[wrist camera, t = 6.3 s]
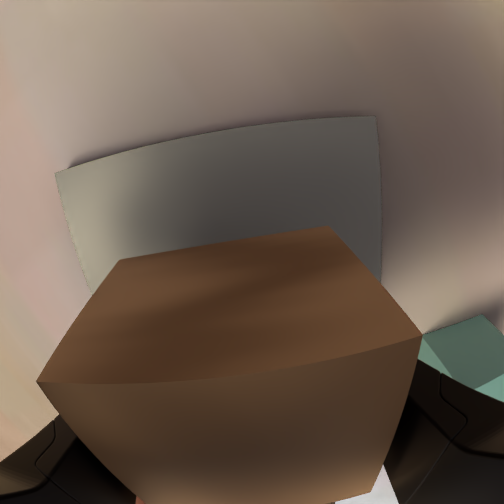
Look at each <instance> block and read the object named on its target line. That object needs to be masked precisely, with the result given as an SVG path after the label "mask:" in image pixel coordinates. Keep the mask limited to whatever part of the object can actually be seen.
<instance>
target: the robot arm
mask: <svg viewBox="0 0 504 504" xmlns="http://www.w3.org/2000/svg"><path fill="white" fill-rule="evenodd" d="M383 465H384V467H385V470H386V472H387V475H388V477H389V480H390V482H391V485H392V487H393V490H394V492H395V495H396V497H397V500H398V503H399V504H504V402H502V401H500V400H497V399H495V398H493V397H490V396H488V395H486V394H483V393H481V392H479V391H477V390H474V389H472V388H470V387H468V386H466V385H464V384H462V383H460V382H458V381H456V380H455V379H453V378H451V377H449V376H447V375H446V374H444V373H441V374H440V371H438V370H437V369H435V368H433V367H432V366H430V365H428V364H426V363H425V362H423V361H421V360H419V359H417V363H416V367H415V371H414V375H413V378H412V382H411V385H410V389H409V392H408V396H407V399H406V402H405V405H404V409H403V412H402V415H401V418H400V421H399V424H398V426H397V429H396V432H395V435H394V438H393V440H392V443H391V445H390V448H389V451H388V453H387V456H386V458H385V461H384V463H383ZM0 504H136V495H135V494H134V493H133V492H132V491H131V490H130V489H128V488H127V487H126V486H125V485H124V484H123V483H122V482H121V481H120V480H119V479H118V478H117V477H116V476H115V475H113V474H112V473H111V472H110V471H109V470H108V469H107V468H106V467H105V466H104V465H103V464H102V463H101V461H100V460H99V459H98V458H97V457H96V456H95V455H94V454H93V453H92V452H91V451H90V450H89V449H88V448H87V446H86V445H85V444H84V443H83V442H82V441H81V440H80V438H79V437H78V436H77V435H76V434H75V433H74V431H73V430H72V429H71V428H70V427H69V425H68V424H67V423H66V422H65V420H64V419H63V418H62V417H61V415H60V414H59V415H58V416H57V417H56V418H55V419H54V420H52V421H51V422H50V423H49V424H48V425H47V426H46V427H45V428H43V429H42V430H41V431H40V432H39V433H38V434H36V435H35V436H34V437H33V438H32V439H30V440H29V441H28V442H26V443H25V444H24V445H23V446H21V447H20V448H19V449H17V450H16V451H15V452H13V453H12V454H10V455H9V456H8V457H6V458H5V459H4V460H2V461H1V462H0Z"/></svg>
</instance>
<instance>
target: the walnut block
mask: <svg viewBox="0 0 504 504" xmlns="http://www.w3.org/2000/svg"><path fill="white" fill-rule="evenodd" d="M422 337H423V334H422V333H421V332H420V331H419V329H418V328H417V327H416V326H415V324H414V323H413V322H412V321H411V319H410V318H409V317H408V316H407V314H406V313H405V312H404V311H403V310H402V308H401V307H400V306H399V305H398V304H397V302H396V301H395V300H394V299H393V298H392V296H391V295H390V294H389V293H388V292H387V290H386V289H385V288H384V287H383V286H382V285H381V283H380V282H379V281H378V280H377V279H376V278H375V276H374V275H373V274H372V273H371V272H370V271H369V270H368V268H367V267H366V266H365V265H364V264H363V263H362V262H361V261H360V259H359V258H358V257H357V256H356V255H355V254H354V253H353V252H352V250H351V249H350V248H349V247H348V246H347V245H346V244H345V243H344V242H343V241H342V239H341V238H340V237H339V236H338V235H337V234H336V233H335V232H334V231H333V230H332V229H331V228H330V227H329V226H322V227H315V228H309V229H302V230H296V231H289V232H283V233H276V234H270V235H264V236H257V237H251V238H245V239H239V240H232V241H226V242H220V243H214V244H208V245H202V246H196V247H190V248H184V249H178V250H172V251H166V252H160V253H154V254H148V255H143V256H137V257H131V258H125V259H120V260H119V261H118V262H117V263H116V264H115V266H114V267H113V268H112V270H111V271H110V272H109V274H108V275H107V276H106V278H105V279H104V280H103V282H102V283H101V284H100V286H99V287H98V288H97V290H96V291H95V293H94V294H93V295H92V297H91V298H90V299H89V301H88V302H87V304H86V305H85V307H84V308H83V309H82V311H81V312H80V314H79V315H78V317H77V318H76V319H75V321H74V322H73V324H72V325H71V327H70V328H69V330H68V331H67V333H66V334H65V336H64V337H63V339H62V340H61V342H60V343H59V345H58V347H57V348H56V350H55V351H54V353H53V354H52V356H51V358H50V359H49V361H48V362H47V364H46V366H45V367H44V369H43V371H42V372H41V374H40V376H39V377H38V379H37V381H36V382H37V384H38V385H39V387H40V388H41V389H42V391H43V392H44V394H45V395H46V397H47V398H48V399H49V401H50V402H51V403H52V405H53V406H54V407H55V409H56V410H57V411H58V413H59V414H60V415H61V417H62V418H63V419H64V420H65V422H66V423H67V424H68V425H69V427H70V428H71V429H72V430H73V431H74V433H75V434H76V435H77V436H78V437H79V438H80V440H81V441H82V442H83V443H84V444H85V445H86V446H87V448H88V449H89V450H90V451H91V452H92V453H93V454H94V455H95V456H96V457H97V458H98V459H99V460H100V461H101V463H102V464H103V465H104V466H105V467H106V468H107V469H108V470H109V471H110V472H111V473H112V474H113V475H115V476H116V477H117V478H118V479H119V480H120V481H121V482H122V483H123V484H124V485H125V486H126V487H127V488H128V489H130V490H131V491H132V492H133V493H134V494H135V495H136V496H137V497H139V498H140V499H141V500H142V501H143V502H145V503H146V504H327V503H331V502H336V501H340V500H344V499H348V498H351V497H355V496H359V495H362V494H365V493H369V492H371V490H372V488H373V486H374V483H375V481H376V479H377V477H378V475H379V472H380V470H381V468H382V465H383V463H384V461H385V458H386V456H387V453H388V451H389V448H390V445H391V443H392V440H393V438H394V435H395V432H396V429H397V426H398V424H399V421H400V418H401V415H402V412H403V409H404V405H405V402H406V399H407V396H408V392H409V389H410V385H411V382H412V378H413V375H414V371H415V367H416V363H417V359H418V355H419V350H420V346H421V342H422Z"/></svg>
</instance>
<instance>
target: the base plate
mask: <svg viewBox="0 0 504 504" xmlns="http://www.w3.org/2000/svg"><path fill="white" fill-rule="evenodd" d="M54 174H55V178H56V183H57V187H58V191H59V195H60V199H61V203H62V206H63V210H64V214H65V217H66V221H67V224H68V228H69V231H70V234H71V238H72V241H73V244H74V247H75V250H76V253H77V256H78V259H79V262H80V265H81V267H82V270H83V273H84V276H85V278H86V281H87V284H88V286H89V289H90V292H91V294H92V295H93V294H94V293H95V291H96V290H97V288H98V287H99V286H100V284H101V283H102V282H103V280H104V279H105V278H106V276H107V275H108V274H109V272H110V271H111V270H112V268H113V267H114V266H115V264H116V263H117V262H118V261H119V260H120V259H125V258H131V257H137V256H143V255H148V254H154V253H160V252H166V251H172V250H178V249H184V248H190V247H196V246H202V245H208V244H214V243H220V242H226V241H232V240H239V239H245V238H251V237H257V236H264V235H270V234H276V233H283V232H289V231H296V230H302V229H309V228H315V227H322V226H329V227H330V228H331V229H332V230H333V231H334V232H335V233H336V234H337V235H338V236H339V237H340V238H341V239H342V241H343V242H344V243H345V244H346V245H347V246H348V247H349V248H350V249H351V250H352V252H353V253H354V254H355V255H356V256H357V257H358V258H359V259H360V261H361V262H362V263H363V264H364V265H365V266H366V267H367V268H368V270H369V271H370V272H371V273H372V274H373V275H374V276H375V278H376V279H377V280H378V281H379V282H380V281H381V256H382V197H381V173H380V156H379V143H378V132H377V122H376V116H353V117H333V118H319V119H306V120H296V121H286V122H277V123H269V124H261V125H253V126H246V127H240V128H233V129H227V130H221V131H215V132H210V133H204V134H199V135H194V136H189V137H184V138H179V139H174V140H170V141H165V142H161V143H157V144H152V145H148V146H144V147H140V148H136V149H132V150H129V151H125V152H121V153H118V154H114V155H110V156H107V157H103V158H100V159H97V160H93V161H90V162H87V163H84V164H81V165H78V166H74V167H71V168H68V169H65V170H63V171H60V172H57V173H54Z"/></svg>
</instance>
